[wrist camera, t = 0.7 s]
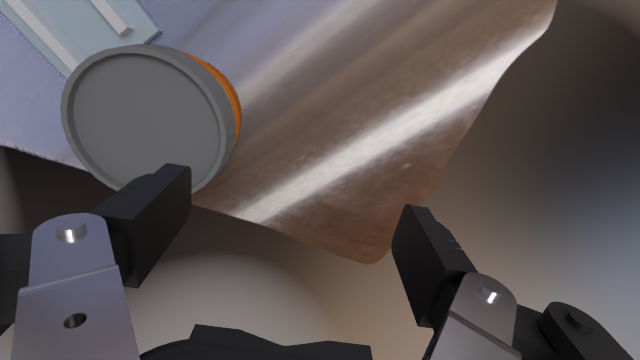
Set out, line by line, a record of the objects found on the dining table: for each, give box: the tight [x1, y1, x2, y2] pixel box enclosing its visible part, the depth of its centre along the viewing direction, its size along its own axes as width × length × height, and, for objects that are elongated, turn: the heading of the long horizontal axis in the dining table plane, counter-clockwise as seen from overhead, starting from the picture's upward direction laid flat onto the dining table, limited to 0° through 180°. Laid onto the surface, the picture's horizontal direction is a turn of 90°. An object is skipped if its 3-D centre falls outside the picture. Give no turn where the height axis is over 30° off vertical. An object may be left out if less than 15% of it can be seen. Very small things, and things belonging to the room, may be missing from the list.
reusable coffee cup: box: [61, 44, 241, 194], centre depth 30 cm, size 13×13×15 cm
